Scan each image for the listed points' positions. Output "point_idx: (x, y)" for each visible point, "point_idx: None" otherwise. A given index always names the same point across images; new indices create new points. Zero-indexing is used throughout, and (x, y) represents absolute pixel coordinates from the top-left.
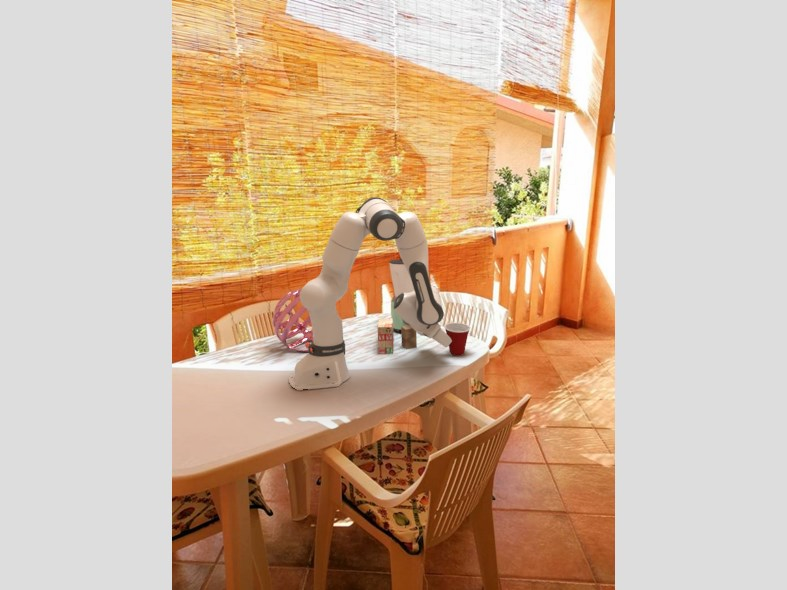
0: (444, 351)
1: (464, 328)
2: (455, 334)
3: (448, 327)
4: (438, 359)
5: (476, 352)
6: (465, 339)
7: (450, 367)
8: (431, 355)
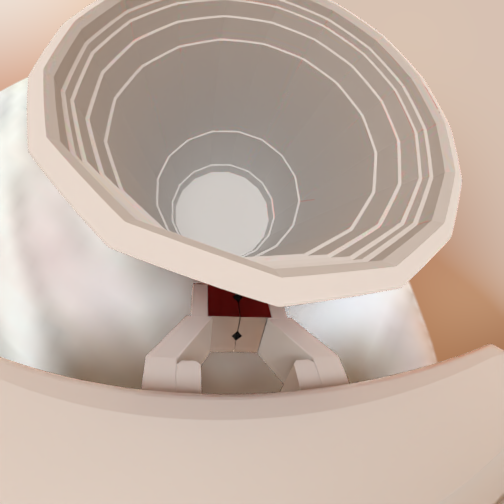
0: (136, 272)
1: (220, 13)
2: (402, 204)
3: (82, 124)
4: (267, 390)
5: None
6: (329, 123)
7: (400, 365)
8: None
